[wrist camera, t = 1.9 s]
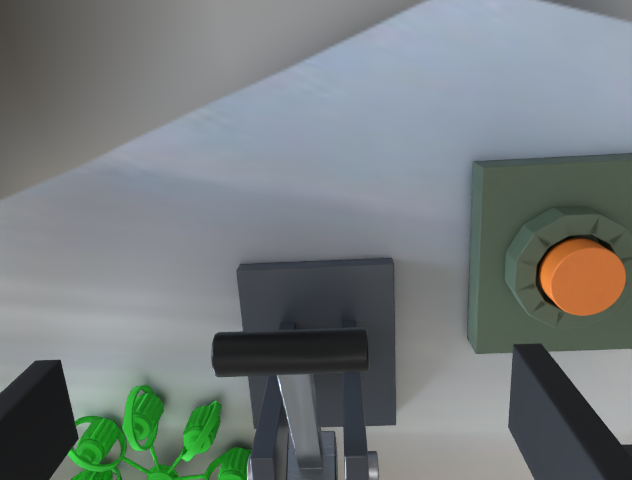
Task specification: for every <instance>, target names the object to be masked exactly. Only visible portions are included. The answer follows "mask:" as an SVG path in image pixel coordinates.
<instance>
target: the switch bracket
mask: <svg viewBox="0 0 632 480" xmlns="http://www.w3.org/2000/svg"><path fill="white" fill-rule="evenodd" d="M237 280H238V289H239V298H240V307H241V316H242V325H243V332H246V331H273V330H301V329H328V328H356V327H365V328H366V329H367V333H368V346H369V371H368V372H363V373H331V374H313V377H314V384H315V392H316V399H317V406H318V413H319V420H320V427H343V428H344V462H345V480H379V468H378V456H377V452H376V451H368V450H367V439H366V428H365V426H384V425H396V386H395V313H394V263H393V260H392V258H378V259H355V260H332V261H308V262H285V263H262V264H240V265H239V267H238V269H237ZM248 378H249V387H250V396H251V405H252V414H253V423H254V429H256V434H255V438H254V442H253V447H252V451H251V454H250V455H249V458H248V464H247V480H286V466H287V442H288V433H289V432H290V429H289V424H288V420H287V416H286V412H285V408H284V403H283V399H282V395H281V391H280V387H279V382H278V378H277V375H268V376H248Z"/></svg>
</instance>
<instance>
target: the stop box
mask: <svg viewBox="0 0 632 480" xmlns="http://www.w3.org/2000/svg"><path fill="white" fill-rule="evenodd" d="M574 238H585V239H589V240H592V241H595V242H597V243H598V244H600V245H601V246H603V247H605V248H606V249H608V250H609V251H611V252H613V253H614V254H615V255H617V256H618V257H619V259H620V260H621V261H622V263H623V265H624V268H625V272H626V282H625V286H624V289H623V291H622V293H621V295H620V296H619V298H618V299H617V300H616V302H614V303H613V304H612V305H611V306H610V307H608V308H607V309H605V310H604V311H601V312H599V313H596V314H593V315H586V316H579V315H573V314H570V313H568V312H565V311H564V310H562V309H561V308H560V307H558V306H557V305H556V304H555V302H554V301H553V300H552V299H551V298H550V297H549V296H548V295H547V294H546V293H545V292H544V291H543V289H542V287H541V285H540V282H539V268H540V265H541V262H542V260H543V258H544V257H545V255H546V254H547V253H548V252H549V251H550V250H551V249H552V248H553V247H554V246H556V245H557V244H559V243H561V242H563V241H566V240H569V239H574ZM467 338H468V340H469V342H470V344H471V346H472V348H473V350H474V352H475V354H486V353H513V344H535V343H541V344H542V345H543V346H544V348H545V349H546V350H547V351H576V350H606V349H632V153H628V154H609V155H589V156H570V157H551V158H532V159H513V160H493V161H474V162H473V178H472V208H471V239H470V269H469V299H468V329H467Z"/></svg>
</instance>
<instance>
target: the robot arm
mask: <svg viewBox="0 0 632 480" xmlns="http://www.w3.org/2000/svg"><path fill="white" fill-rule="evenodd" d="M508 428H509V430H510V432H511V434H512V436H513V437H514V439H515V441H516V443H517V445H518V447H519V449H520V451H521V453H522V455H523V457H524V459H525V461H526V463H527V465H528V467H529V469H530V471H531V473H532V475H533V477H534V479H535V480H632V445H621V444H620V442H619V441H618V440H617V439H616V437H615V436H614V435H613V434H612V432H611V431H610V430H609V429H608V427H607V426H606V425H605V424H604V422H603V421H602V420H601V418H600V417H599V416H598V415H597V413H596V412H595V411H594V410H593V408H592V407H591V406H590V405H589V403H588V402H587V401H586V399H585V398H584V397H583V396H582V394H581V393H580V392H579V391H578V389H577V388H576V387H575V386H574V384H573V383H572V382H571V381H570V379H569V378H568V377H567V375H566V374H565V373H564V372H563V370H562V369H561V368H560V367H559V365H558V364H557V363H556V362H555V360H554V359H553V358H552V357H551V355H550V354H549V353H548V351H547V350H546V349H545V348H544V346H543V345H542V344H541V343H535V344H513V358H512V375H511V391H510V408H509V424H508ZM78 439H79V438H78V434H77V429H76V425H75V421H74V416H73V412H72V408H71V403H70V399H69V394H68V390H67V386H66V381H65V377H64V373H63V368H62V364H61V360H41V361H34V362H33V363H32V364H31V365H30V366H29V367H28V368H27V369H26V370H25V371H24V372H23V373H22V374H21V375H19V376H18V377H17V378H16V379H15V380H14V381H13V382H12V383H11V384H10V385H9V386H8V387H7V388H5V389H4V390H3V391H2V392H1V393H0V480H49V479H50V478H51V476H52V475H53V473H54V472H55V471H56V469H57V468H58V467H59V465H60V464H61V462H62V461H63V460H64V458H65V457H66V455H67V454H68V453H69V451H70V450H71V448H72V447H73V446H74V444H75V443H76V441H77V440H78Z"/></svg>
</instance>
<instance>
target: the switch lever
mask: <svg viewBox="0 0 632 480" xmlns="http://www.w3.org/2000/svg"><path fill="white" fill-rule="evenodd" d="M211 360H212V368H213V372H214V374H215V376H217V377H237V376H268V375H277V378H278V382H279V387H280V391H281V395H282V399H283V403H284V408H285V412H286V416H287V420H288V424H289V429H290V432H289V433H288V442H287V466H286V480H338V462H337V447H336V436H335V431H321V427H320V420H319V413H318V406H317V399H316V392H315V384H314V377H313V374H331V373H363V372H368V371H369V346H368V333H367V329H366V328H365V327H356V328H328V329H301V330H273V331H246V332H219V333H216V334H215V336H214V339H213V343H212V351H211Z"/></svg>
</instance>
